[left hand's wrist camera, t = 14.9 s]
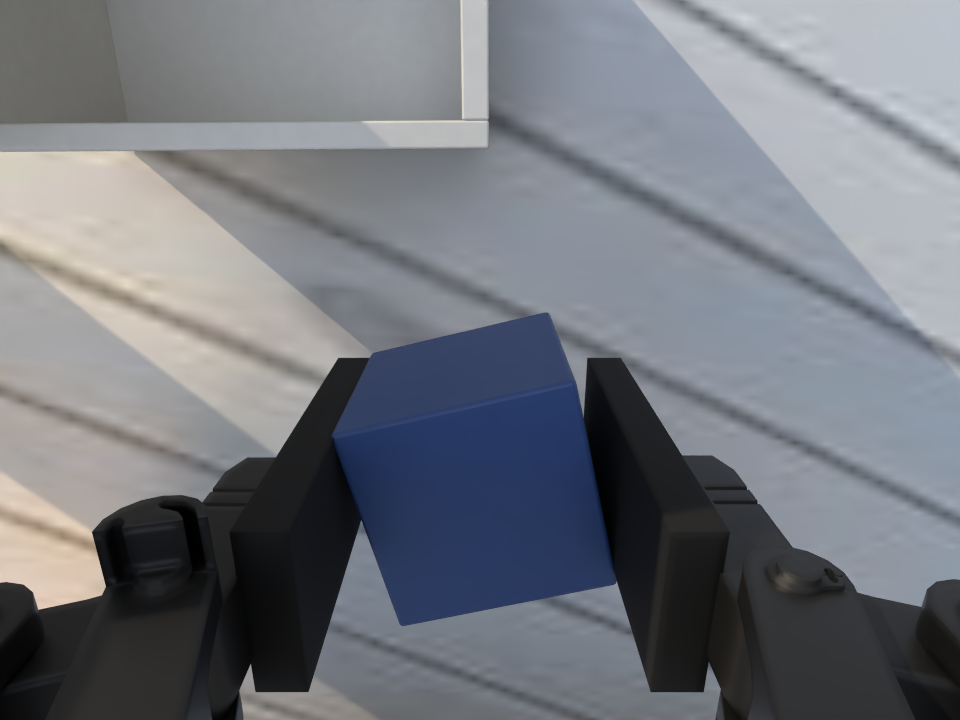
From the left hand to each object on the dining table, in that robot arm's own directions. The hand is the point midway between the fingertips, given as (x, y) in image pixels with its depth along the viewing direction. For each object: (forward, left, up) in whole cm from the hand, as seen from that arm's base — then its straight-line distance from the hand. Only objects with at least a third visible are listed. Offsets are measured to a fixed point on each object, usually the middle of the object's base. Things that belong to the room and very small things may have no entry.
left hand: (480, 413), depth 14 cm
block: (0, 0, 0) cm, 0 cm away
